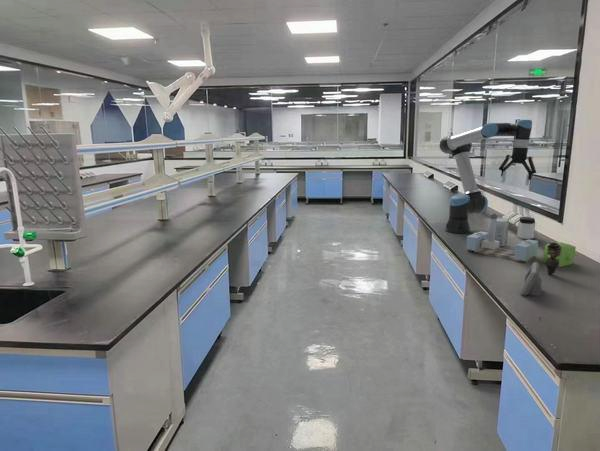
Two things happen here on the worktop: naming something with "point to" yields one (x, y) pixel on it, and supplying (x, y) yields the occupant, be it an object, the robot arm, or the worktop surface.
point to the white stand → (491, 234)
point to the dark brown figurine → (553, 257)
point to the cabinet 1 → (475, 240)
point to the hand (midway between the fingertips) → (514, 183)
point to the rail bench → (500, 253)
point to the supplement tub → (501, 231)
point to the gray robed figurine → (532, 281)
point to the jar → (526, 228)
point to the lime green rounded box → (563, 254)
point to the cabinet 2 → (526, 249)
